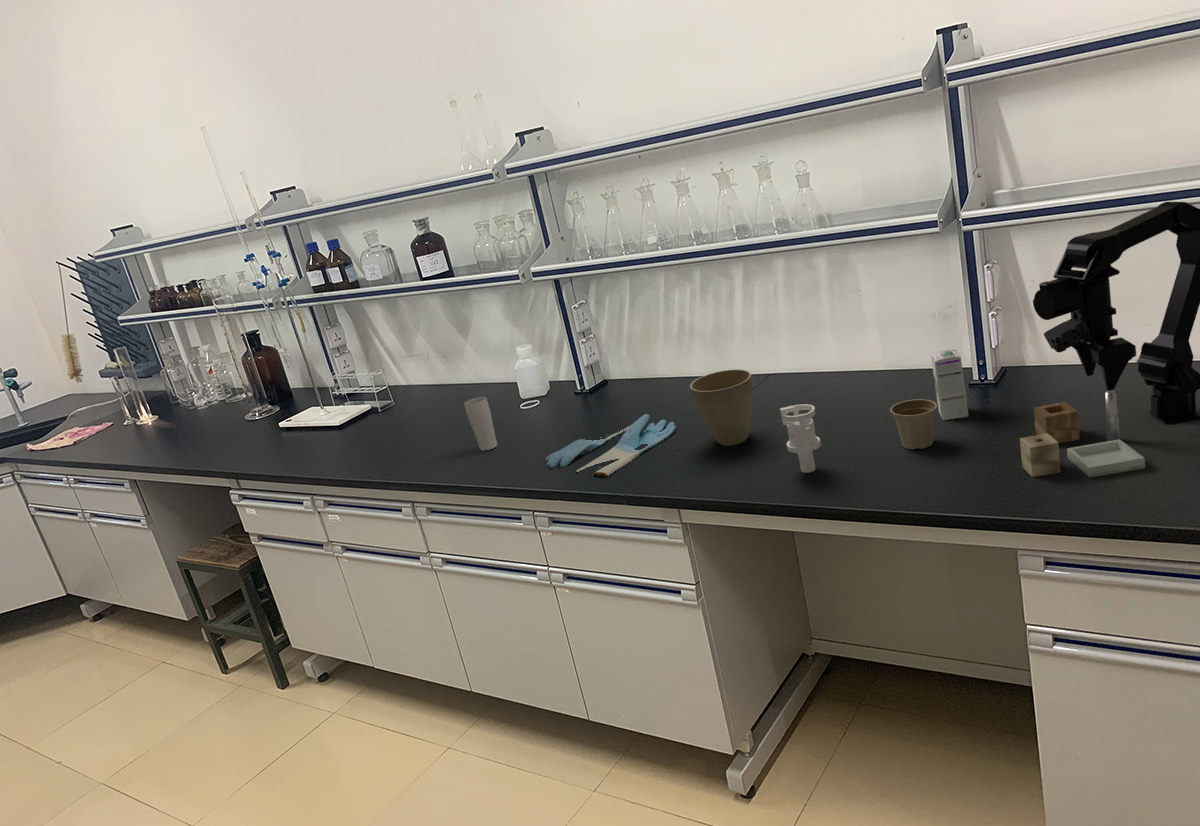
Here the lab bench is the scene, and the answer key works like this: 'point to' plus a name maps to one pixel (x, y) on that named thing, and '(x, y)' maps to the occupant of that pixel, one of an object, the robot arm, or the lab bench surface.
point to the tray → (1105, 458)
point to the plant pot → (725, 404)
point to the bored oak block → (1057, 422)
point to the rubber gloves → (620, 451)
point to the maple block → (1040, 455)
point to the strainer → (801, 434)
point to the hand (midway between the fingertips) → (1099, 382)
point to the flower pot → (915, 422)
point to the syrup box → (949, 385)
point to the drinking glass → (481, 422)
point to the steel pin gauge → (1112, 415)
